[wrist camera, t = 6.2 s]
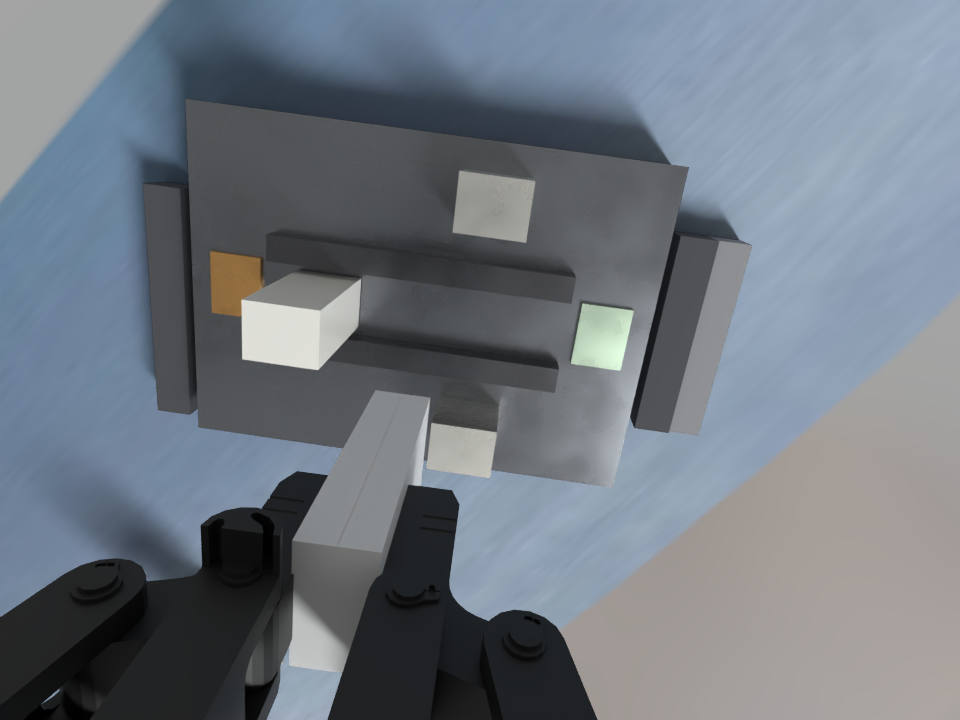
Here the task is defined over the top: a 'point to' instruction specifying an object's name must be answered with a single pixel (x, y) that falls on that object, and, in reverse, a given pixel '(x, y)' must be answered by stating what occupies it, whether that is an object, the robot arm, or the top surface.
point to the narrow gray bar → (688, 332)
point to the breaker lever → (300, 319)
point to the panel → (431, 284)
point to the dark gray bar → (171, 294)
